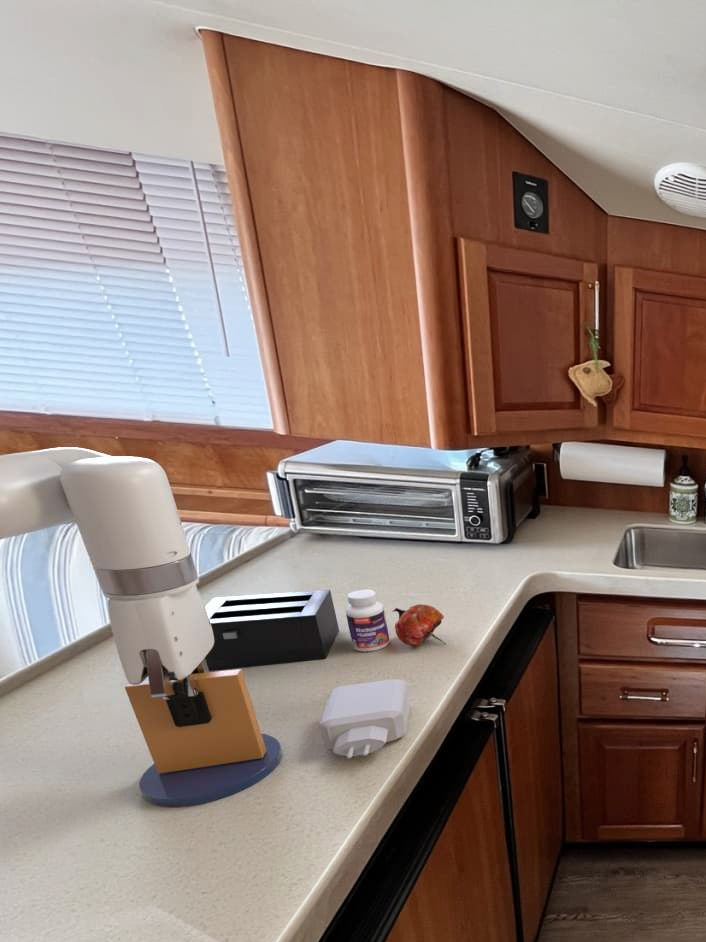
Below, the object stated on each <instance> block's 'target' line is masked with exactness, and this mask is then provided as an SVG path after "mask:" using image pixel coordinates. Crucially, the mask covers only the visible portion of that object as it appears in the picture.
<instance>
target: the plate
mask: <svg viewBox="0 0 706 942" xmlns="http://www.w3.org/2000/svg"><path fill="white" fill-rule="evenodd" d="M261 734H262V738H263V741H264V744H265V748H266V753H265V755H264V756H263V758H259V759H253V760H246V761H240V762H233V763H226V764H220V765H213V766H207V767H200V768H194V769H187V770H181V771H174V772H168V773H161V774H158V772H157V769H156V766H155V764H154V763H153V764H152V765H150V766H149V767H148V768H147V769H146V770H145V771H144V772H143V773H142V775H141V777H140V778H139V781H138V783H139V784H138V787H139V789H140V793H141V795H142V797H143V798H144V800H145V801H146V802H148V803H150V804H153V805H155V806H159V807H167V808H179V807H190V806H197V805H202V804H206V803H210V802H214V801H217V800H221V799H224V798H226V797H230V796H232V795H236V794H238V793H240V792H242V791H244V790H246V789H248V788H250V787H252V786H253V785H255V784H258V783H259V782H260V781H262V780H264V779H265V778H266V777H267V776H269V775H270V774H271V773H272V772H273V771H274V770H275V769H276V768H277V767H278V766H279V764H280V762H281V761H282V758H283V751H282V747H281V744H280V742H279V740H278V739H276V738H275V737H274V736H272V735H270V734H266V733H263V732H261Z"/></svg>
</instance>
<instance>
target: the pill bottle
mask: <svg viewBox="0 0 706 942" xmlns="http://www.w3.org/2000/svg"><path fill="white" fill-rule="evenodd" d="M347 601H348V606H347V607H346V609H345V617H346V621H347V626H348V630H349V636H350V640H351V644H352V648H353V649H354V650H355V651H359V652H365V653H366V652H367V651H368V652H375V651H379V650H381V649H384V648H386V647H387V646H388V645H389V644H390V634H389V631H388V630H389V629H388V624H387V618H386V613H385V607H384V605H383V604H382V603H381V602H379V601H378V596H377V593H376V591H375V590H373V589H358V590H354V591H351V592H349V593H348V594H347Z"/></svg>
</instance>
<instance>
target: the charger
mask: <svg viewBox="0 0 706 942" xmlns="http://www.w3.org/2000/svg"><path fill="white" fill-rule="evenodd" d="M408 686H409V685H408V682H407V680H404V679H401V678H394V679H385V680H378V681H370V682H364V683H356V684H349V685H348V684H347V685H342V686H338V687H335V688H333V689H332V690H331V691H330V693H329V696H328V699H327V702H326V705H325V708H324V711H323V714H322V717H321V719H320V722H319V726H318V728H319V732H320V736H321V739H322V743H323V746H324V748H325V749H327V750H332V753H334V754H336V755H339V756H345V757H346V759H349V760H350V759H352V758H353V757H357V756H363V757H366V756H368V755H369V754H372V753H374V752H376V751H379V749H381V748H383V747H384V746H385V745H386V743H387V742H389V743H390V742H393V741H397V740H399V739H401V738H402V737H404V736H405V735H406V734H407V726H408V720H409V712H410V704H411V698H410V692H409V687H408Z"/></svg>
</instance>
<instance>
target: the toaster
mask: <svg viewBox="0 0 706 942" xmlns="http://www.w3.org/2000/svg"><path fill="white" fill-rule="evenodd" d="M204 606H205V609H206V611H207V614H208V617H209V620H210V623H211V627H212V630H213V634H214V645H213V647H212V649H211V650H210V651H209V653H208V654H207V655H206V656H205V657H206V660H207V661H206V662H207V666H208V669H209V672H214V671H224V670H233V669H243V668H250V667H259V666H260V667H262V666H270V665H279V664H289V663H290V664H291V663H300V662H308V661H318V660H326V659H327V657H328V655H329V653H330V651H331V649H332V647H333V644H334V642H335V641H336V638H337V636H338V635H339V632H340V627H339V623H338V619H337V614H336V610H335V605H334V600H333V596H332V592H331V589H323V590H321V589H320V590H309V591H307V590H306V591H294V592H279V593H264V594H263V593H262V594H248V595H235V596H234V595H233V596H220V597H213V598H211V599H210V600H209V601H208V603H207V604H206V605H204Z"/></svg>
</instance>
